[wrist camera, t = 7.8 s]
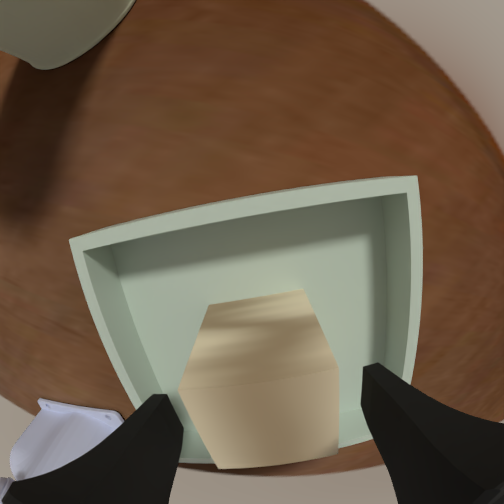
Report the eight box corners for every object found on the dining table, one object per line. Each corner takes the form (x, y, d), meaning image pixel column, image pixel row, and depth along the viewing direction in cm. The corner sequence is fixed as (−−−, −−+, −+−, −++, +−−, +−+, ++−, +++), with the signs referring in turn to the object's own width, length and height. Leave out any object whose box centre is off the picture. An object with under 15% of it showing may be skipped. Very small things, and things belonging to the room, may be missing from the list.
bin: (178, 429, 16) (169, 461, 13) (103, 228, 12) (68, 239, 9) (383, 399, 15) (399, 429, 12) (384, 176, 12) (417, 175, 9)
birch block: (229, 377, 14) (218, 469, 8) (208, 304, 13) (177, 390, 7) (312, 364, 13) (337, 453, 7) (303, 288, 12) (338, 367, 7)
